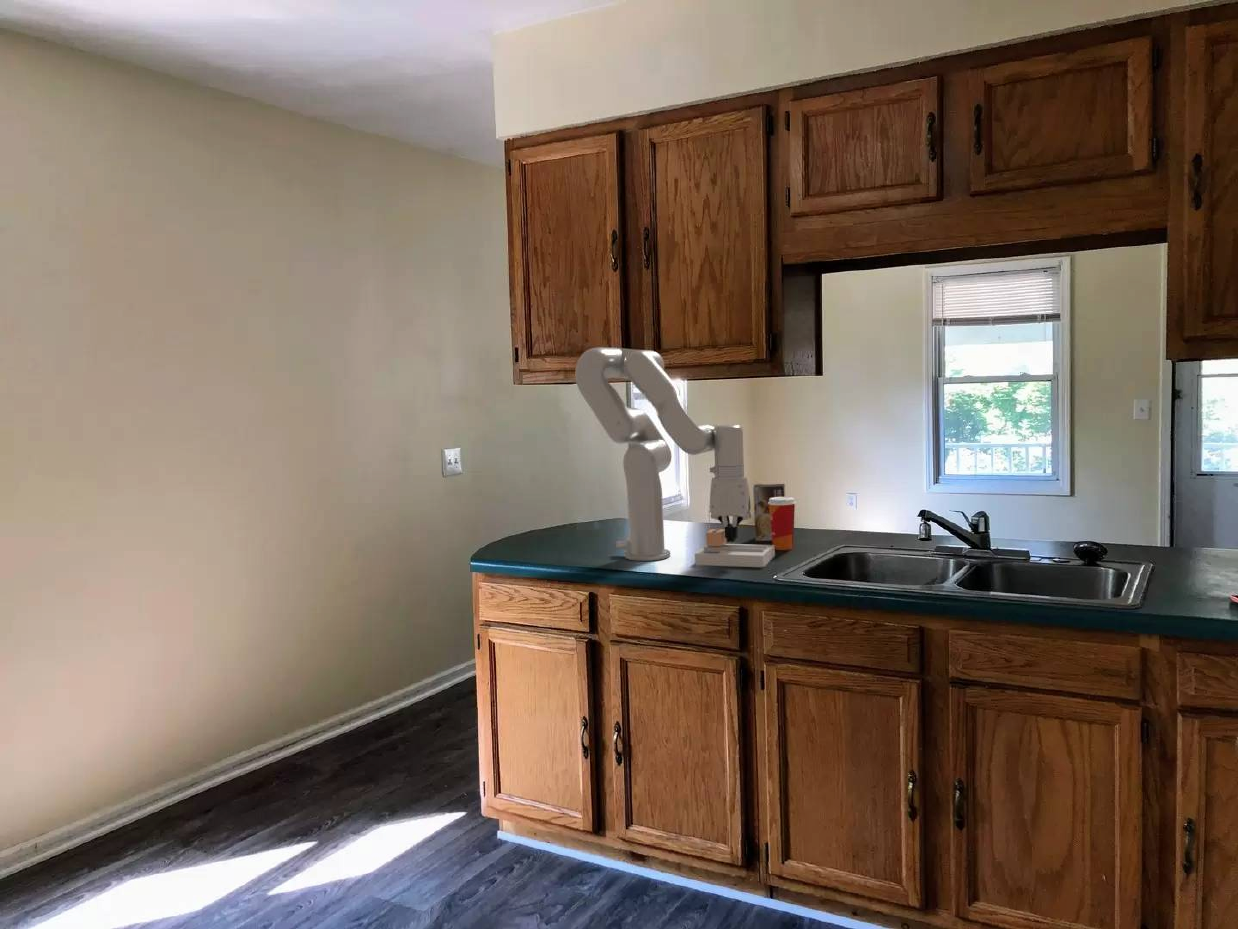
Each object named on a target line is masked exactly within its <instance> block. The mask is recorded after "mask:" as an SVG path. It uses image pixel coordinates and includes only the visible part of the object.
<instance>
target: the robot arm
mask: <svg viewBox="0 0 1238 929" xmlns="http://www.w3.org/2000/svg"><path fill="white" fill-rule="evenodd" d="M574 372H575V373H574V374H575V375H574V376H575V383H576V386H577V388H578V390H579V393H580V395H581V396H582V397H583V398H584V400H585V402H586V404H587V405H588V406H589V408H590V409H591V410H592V413H593V414H594V416H595V417H596V419H597V420H598V422H599V423H600V425H601V426H602V428H603V429H604V431H605V432H606V434H607V436H608V437H609V438H610V439H611V441H613V442H614V443H616V444H622V445H623V444H628V445H629V447H628V448H627V449H626V451H625V453H624V456H623V459H622V460H623V461H622V462H623V464H622V466H623V471H624V472H623V473H624V478H625V483H626V492H627V493H626V494H627V509H628V510H627V511H628V512H627V513H628V532H629V533H628V534H629V539H628V540H626V541H624V540H623V541H622V540H620V541H619V540H617V541H616V543H615V544H616V545H615V546H616V548H617V549H620V550H626V552H624V558H625V559H626V560H630V561H641V562H644V561H645V562H648V561H649V562H651V561H658V560H663V559H664V560H665V559H668V558H669V557H670V556H671V550H669V549H666V548H665V533H664V532H665V530H664V527H665V525H664V508H663V507H664V506H663V503H664V502H663V488H662V482H661V479H660V473H661V472H663V471H666V469H667V468H669V466H670V464H671V463H672V462H671V461H672V458H673V457H672V450H671V448H670V446H669V444H668V443H667V441H666V440H665V438H664V436H663V435H662V434H661V432H660V430H659V429H658V428H657V426H656V424H655V423H654V421H653V420H652V419H651V418H650V416H649V415H648V413H646V412H645V411H643V410H642V409H640V408H637V407H628V406H627V405H626V403H625V402H624V400H623V399H622V398H621V396H620V394H619V392H618V391H617V390H616V389H615V387H613V386H612V385H611V384H610V382H609V381H608V379H614V378H615V379H625V380H629V381H630V382H631V383H632V384H633V385H634V386H635V388H636V389H637V390H638V391H639V392H640V393H641V394H642V395H643V397H644V398H645V399H646V400H647V402H648V403H649V404H650V405H651V407H652V408H653V409H654V411H655V414H656V416H657V418H658V420H659V422H660V424H661V426H662V427H663V429H664V430H665V432H666V433H667V435H668V436H669V437H670V438H671V439H672V440H673V442H674V443H675V444H676V445H677V446H678V448H679V449H681V450H682V451H683V452H684V453H685V454H687V455H691V456H697V455H700V454H704V453H707V452H714V466H713V467H710V468H709V473H711V474H712V473H713V474H714V476H713V477H711V482H710V494H709V513H710V518H711V519H713V520H715V521H719V522H720V523H721V524H722V526H723V527H724V529H725V538H726V543H730V542H731V543H734V542H735V541H736V540H737V539H738V536H739V535H738V534H739V533H738V526H739V524H740V523H742V521H747V520H750V519H752V514H751V495H750V487H749V482H748V478H747V476H745V464H744V460H745V459H744V432H743V431H744V430H743V427H742V426H741V425H738V424H720V425H718V424H717V425H716V424H709V423H700V424H696V423H695V421H694V420H693V419H692V418H691V417H690V416H689V414H688V413H687V411H686V410H685V408H684V407H683V405H682V402H681V390H680V387H679V386H678V385H677V384H676V383H675V382H674V380H673V379H672V378H671V377H669V375H668V374H667V372H666V371H665V361H664V359H663V357H662V356H661V355H660V353H658V352H656V351H654V350H651V349H649V350H648V349H631V348H623V347H622V348H621V347H603V346H602V347H600V346H599V347H593V348H589V349H587V350H585V351H584V352H583V353H582V354H581V356H580V357H579V358H578V360H577V363H576V366H575V371H574ZM730 517H732V519H731V520H732V521H730Z"/></svg>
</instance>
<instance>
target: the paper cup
mask: <svg viewBox="0 0 1238 929" xmlns="http://www.w3.org/2000/svg"><path fill="white" fill-rule="evenodd" d="M768 504H769V511H770V523H771V534H772V541H771V542H772V544H771V545H775V550H778V551H788V550H789V551H790V550H792V549H793V548H794V540H795V538H794V536H795V532H794V531H795V510H796V509H795V507H796V506H795V505H796V504H797V501H795V497H791V496H790V497H789V496H785V497H773V498H770V499H769V502H768Z"/></svg>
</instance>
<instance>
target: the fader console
mask: <svg viewBox="0 0 1238 929" xmlns="http://www.w3.org/2000/svg"><path fill="white" fill-rule="evenodd" d="M774 557H776V552H775V545H773V544H751V543H750V544H748V543H747V544H743V543H725V544H724V545H723V546H719V547H714V546H707V544H706V545H705V546H703V547H702V548H701V549H699V550H698V551H696V552H695V553H694V561H695V562H694V563H695V564H694V565H696V566H716V567H739V568H740V567H745V568H746V567H747V568H749V567H750V568H765V567H766V566H767V565H768V564H769V563H770V562H771V561H772V560H773V559H774Z"/></svg>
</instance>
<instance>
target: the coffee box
mask: <svg viewBox="0 0 1238 929" xmlns="http://www.w3.org/2000/svg"><path fill="white" fill-rule="evenodd" d="M752 490H753V512H754V513H753V514H754V534H755V535H754V536H755V538H754V540H755V541H756V542H758V541H759V542H772V534H771V523H770V511H769V504H768V502H769V499H770V498H773V497H786V484H785V483H757V484H754V485H753V489H752Z"/></svg>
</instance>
